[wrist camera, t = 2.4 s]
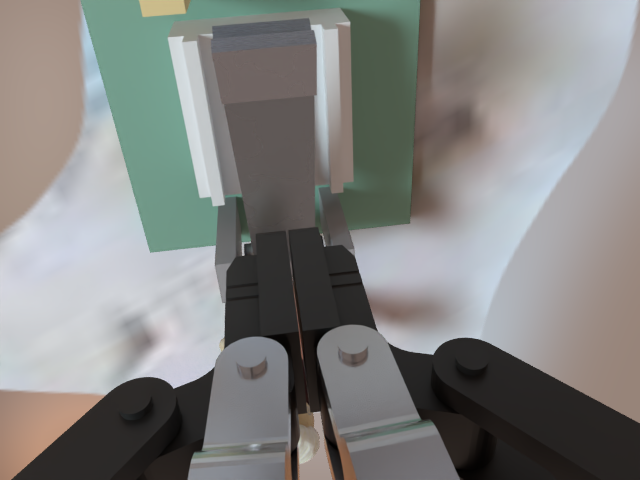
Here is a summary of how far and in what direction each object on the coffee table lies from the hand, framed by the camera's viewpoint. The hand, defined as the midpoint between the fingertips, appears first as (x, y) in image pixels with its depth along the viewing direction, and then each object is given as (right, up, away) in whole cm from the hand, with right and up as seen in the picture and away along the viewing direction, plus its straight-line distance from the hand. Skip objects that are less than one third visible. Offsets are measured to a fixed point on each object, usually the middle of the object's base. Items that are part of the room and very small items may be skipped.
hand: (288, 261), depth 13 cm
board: (-2, +9, +16) cm, 19 cm away
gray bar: (-1, +4, +10) cm, 11 cm away
